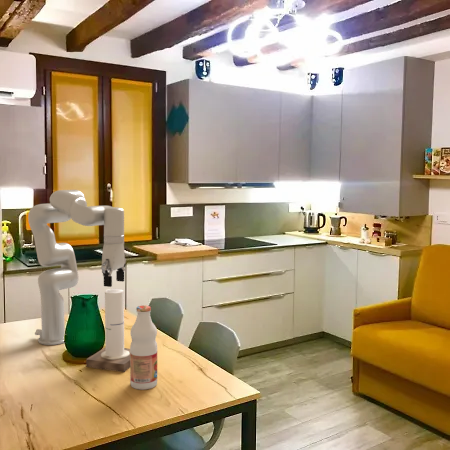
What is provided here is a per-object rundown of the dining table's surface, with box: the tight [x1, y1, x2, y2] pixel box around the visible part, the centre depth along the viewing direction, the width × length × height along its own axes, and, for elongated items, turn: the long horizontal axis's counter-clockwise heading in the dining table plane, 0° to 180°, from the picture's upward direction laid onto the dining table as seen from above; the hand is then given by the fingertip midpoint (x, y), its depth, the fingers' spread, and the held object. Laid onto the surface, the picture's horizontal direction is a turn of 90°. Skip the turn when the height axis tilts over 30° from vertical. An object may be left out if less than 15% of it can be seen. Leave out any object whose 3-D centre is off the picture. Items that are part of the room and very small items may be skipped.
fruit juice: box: [129, 304, 158, 391], centre depth 184 cm, size 9×9×28 cm
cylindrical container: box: [104, 288, 125, 357], centre depth 205 cm, size 7×7×25 cm
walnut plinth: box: [85, 346, 130, 373], centre depth 207 cm, size 16×16×3 cm
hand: (114, 283), depth 204 cm, fingers open, 9 cm apart
